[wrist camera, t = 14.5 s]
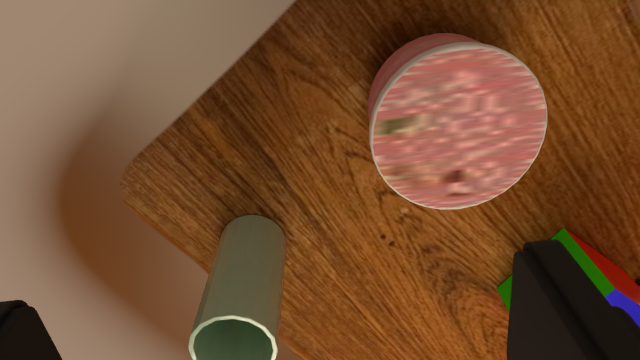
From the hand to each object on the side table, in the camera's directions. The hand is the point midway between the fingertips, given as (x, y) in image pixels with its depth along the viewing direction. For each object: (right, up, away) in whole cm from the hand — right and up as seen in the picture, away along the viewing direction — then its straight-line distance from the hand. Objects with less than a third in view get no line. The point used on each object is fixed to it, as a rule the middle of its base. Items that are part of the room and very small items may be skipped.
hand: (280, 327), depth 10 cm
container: (+9, +9, +27) cm, 30 cm away
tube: (-5, -2, +32) cm, 33 cm away
